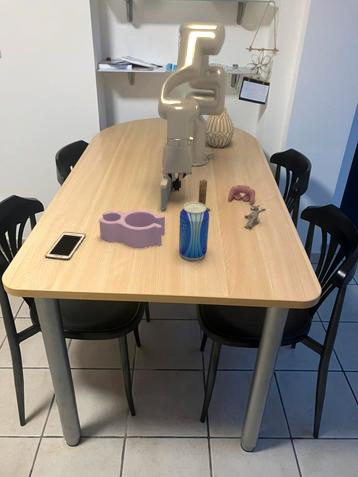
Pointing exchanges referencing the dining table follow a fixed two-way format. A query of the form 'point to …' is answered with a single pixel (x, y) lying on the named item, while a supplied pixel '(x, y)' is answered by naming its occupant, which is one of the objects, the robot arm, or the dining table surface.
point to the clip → (133, 228)
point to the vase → (219, 130)
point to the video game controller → (242, 189)
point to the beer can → (193, 231)
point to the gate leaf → (165, 190)
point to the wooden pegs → (201, 191)
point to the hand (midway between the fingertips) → (176, 189)
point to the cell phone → (65, 246)
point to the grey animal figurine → (253, 215)
